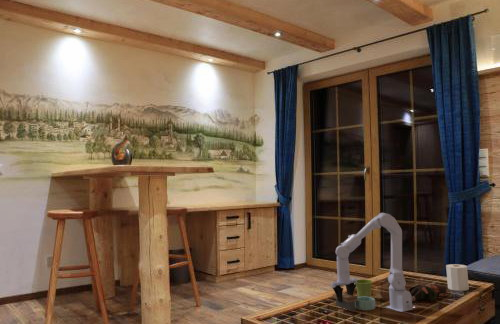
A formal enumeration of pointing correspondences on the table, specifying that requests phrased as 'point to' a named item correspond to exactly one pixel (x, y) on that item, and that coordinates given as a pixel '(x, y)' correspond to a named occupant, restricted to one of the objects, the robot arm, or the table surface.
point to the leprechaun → (426, 292)
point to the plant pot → (364, 287)
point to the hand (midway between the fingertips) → (345, 300)
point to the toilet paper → (457, 277)
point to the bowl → (365, 303)
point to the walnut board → (347, 297)
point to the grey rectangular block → (346, 305)
